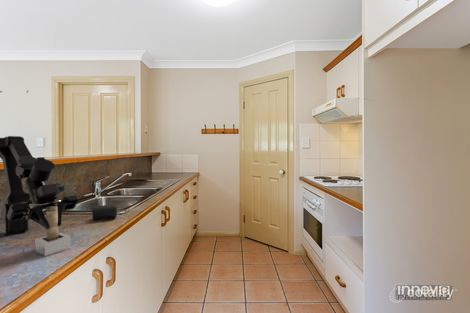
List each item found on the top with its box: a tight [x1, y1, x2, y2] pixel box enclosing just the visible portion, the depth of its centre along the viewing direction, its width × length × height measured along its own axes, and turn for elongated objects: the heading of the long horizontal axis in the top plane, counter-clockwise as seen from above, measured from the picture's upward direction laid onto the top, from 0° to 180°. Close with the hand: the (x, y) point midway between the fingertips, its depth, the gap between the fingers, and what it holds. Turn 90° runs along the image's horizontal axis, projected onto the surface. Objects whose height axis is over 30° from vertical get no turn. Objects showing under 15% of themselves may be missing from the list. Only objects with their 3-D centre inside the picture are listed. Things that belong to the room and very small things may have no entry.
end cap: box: [91, 203, 118, 222], centre depth 115 cm, size 10×7×7 cm
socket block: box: [34, 232, 72, 257], centre depth 80 cm, size 7×7×4 cm
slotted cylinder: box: [45, 206, 59, 242], centre depth 80 cm, size 3×3×13 cm
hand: (54, 226), depth 80 cm, fingers closed on slotted cylinder, 3 cm apart
